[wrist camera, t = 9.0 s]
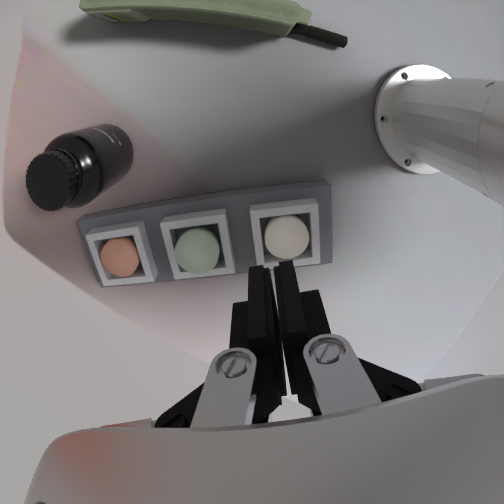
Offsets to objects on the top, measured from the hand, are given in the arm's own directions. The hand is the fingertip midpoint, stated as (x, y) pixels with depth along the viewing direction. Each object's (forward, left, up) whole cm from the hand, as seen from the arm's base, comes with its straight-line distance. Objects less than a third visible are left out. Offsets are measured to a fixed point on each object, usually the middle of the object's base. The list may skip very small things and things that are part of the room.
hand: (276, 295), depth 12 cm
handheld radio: (+2, -17, -23) cm, 28 cm away
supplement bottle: (+16, -4, -23) cm, 28 cm away
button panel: (+7, +7, -23) cm, 24 cm away
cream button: (-2, +7, -20) cm, 21 cm away
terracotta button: (+16, +7, -20) cm, 27 cm away
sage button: (+7, +7, -19) cm, 22 cm away
